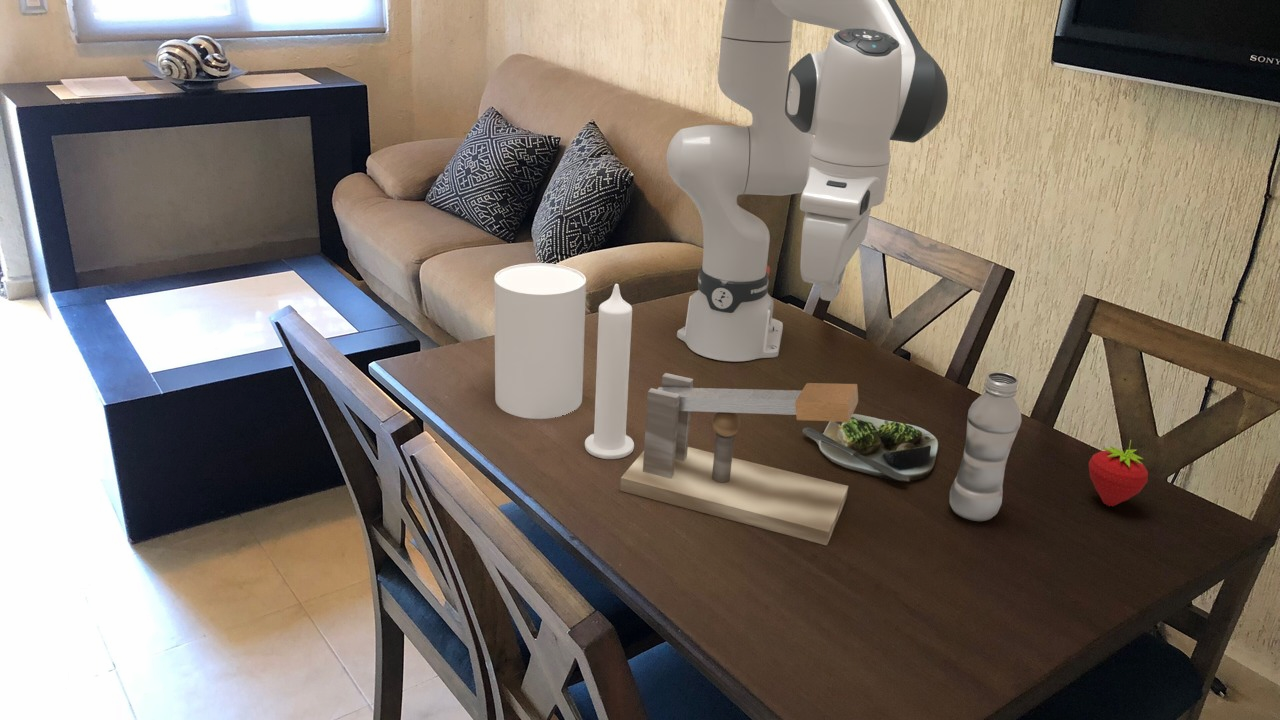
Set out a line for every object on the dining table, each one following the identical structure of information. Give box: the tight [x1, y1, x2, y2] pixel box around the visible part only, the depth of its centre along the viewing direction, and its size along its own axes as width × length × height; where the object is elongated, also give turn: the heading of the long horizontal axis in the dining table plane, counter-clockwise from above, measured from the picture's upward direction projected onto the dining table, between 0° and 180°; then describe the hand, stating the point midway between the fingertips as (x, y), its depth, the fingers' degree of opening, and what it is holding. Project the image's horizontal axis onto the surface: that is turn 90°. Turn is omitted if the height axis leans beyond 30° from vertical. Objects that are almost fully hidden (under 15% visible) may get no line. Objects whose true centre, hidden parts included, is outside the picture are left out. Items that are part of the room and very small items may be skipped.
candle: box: [584, 283, 635, 460], centre depth 139 cm, size 7×7×25 cm
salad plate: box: [802, 413, 940, 482], centre depth 147 cm, size 19×18×5 cm
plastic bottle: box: [949, 371, 1022, 522], centre depth 129 cm, size 6×7×20 cm
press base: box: [619, 372, 849, 546], centre depth 131 cm, size 12×28×14 cm, turn 68°
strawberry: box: [1088, 439, 1149, 507], centre depth 135 cm, size 6×8×10 cm
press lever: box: [657, 382, 859, 422], centre depth 128 cm, size 6×26×2 cm, turn 68°
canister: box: [493, 262, 587, 420], centre depth 153 cm, size 14×14×20 cm
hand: (829, 296), depth 119 cm, fingers closed
